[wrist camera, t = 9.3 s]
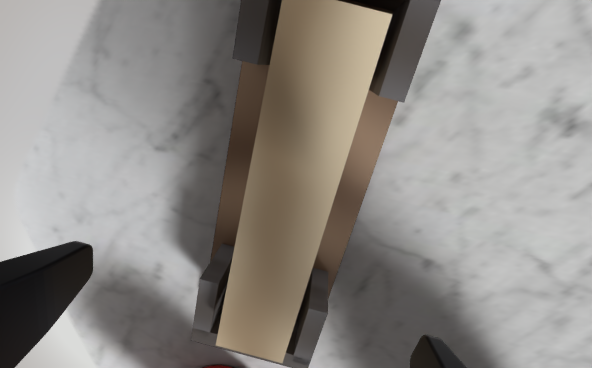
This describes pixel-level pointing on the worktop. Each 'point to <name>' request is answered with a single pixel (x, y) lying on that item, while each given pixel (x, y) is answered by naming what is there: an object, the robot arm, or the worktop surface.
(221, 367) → the canned food
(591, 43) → the worktop surface
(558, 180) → the worktop surface
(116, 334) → the worktop surface
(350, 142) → the beige wooden bar
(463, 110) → the worktop surface
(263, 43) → the frame
